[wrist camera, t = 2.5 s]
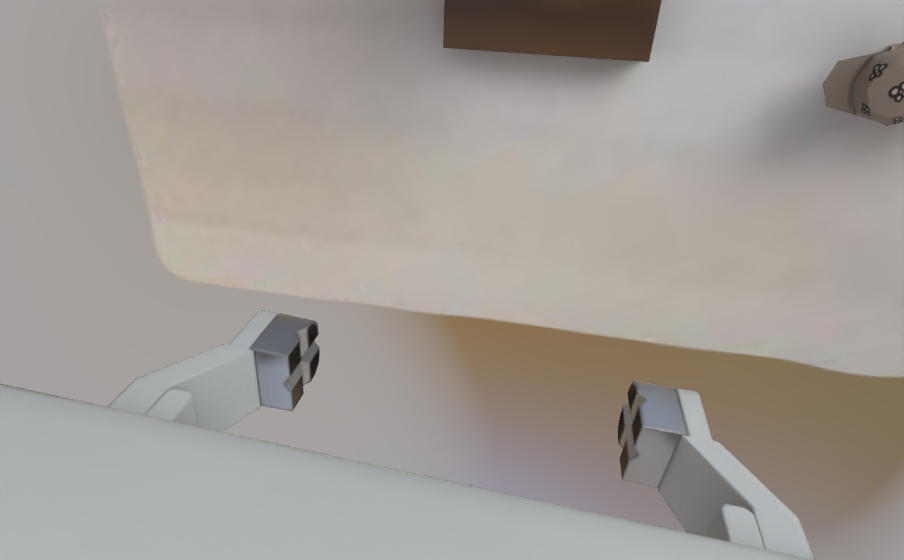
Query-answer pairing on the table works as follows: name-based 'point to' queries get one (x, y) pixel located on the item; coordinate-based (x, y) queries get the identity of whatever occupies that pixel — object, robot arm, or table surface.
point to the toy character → (869, 86)
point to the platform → (554, 27)
